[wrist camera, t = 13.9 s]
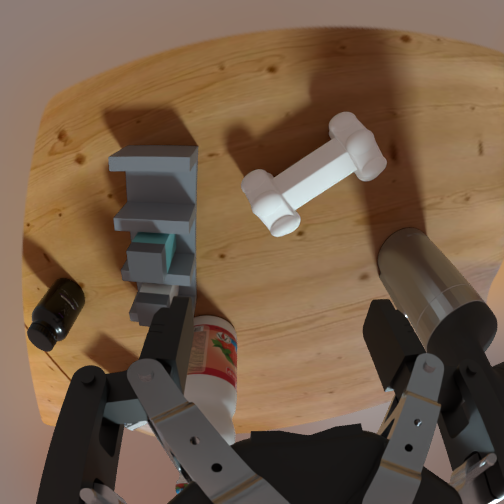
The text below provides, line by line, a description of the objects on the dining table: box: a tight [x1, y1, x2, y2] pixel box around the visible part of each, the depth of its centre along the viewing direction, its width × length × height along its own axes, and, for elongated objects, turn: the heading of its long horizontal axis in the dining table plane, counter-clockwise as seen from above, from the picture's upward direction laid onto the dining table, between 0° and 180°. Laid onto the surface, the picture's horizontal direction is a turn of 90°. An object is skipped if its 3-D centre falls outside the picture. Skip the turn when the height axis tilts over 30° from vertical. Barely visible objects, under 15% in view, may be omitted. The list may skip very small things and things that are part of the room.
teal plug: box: [126, 232, 176, 284], centre depth 35 cm, size 4×4×8 cm
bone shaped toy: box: [241, 112, 387, 237], centre depth 33 cm, size 15×9×8 cm, turn 126°
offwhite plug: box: [135, 282, 179, 327], centre depth 39 cm, size 4×4×8 cm
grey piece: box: [109, 145, 198, 322], centre depth 37 cm, size 23×9×6 cm, turn 175°
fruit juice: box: [176, 315, 237, 494], centre depth 38 cm, size 9×9×28 cm
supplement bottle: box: [27, 278, 85, 352], centre depth 40 cm, size 7×7×12 cm
